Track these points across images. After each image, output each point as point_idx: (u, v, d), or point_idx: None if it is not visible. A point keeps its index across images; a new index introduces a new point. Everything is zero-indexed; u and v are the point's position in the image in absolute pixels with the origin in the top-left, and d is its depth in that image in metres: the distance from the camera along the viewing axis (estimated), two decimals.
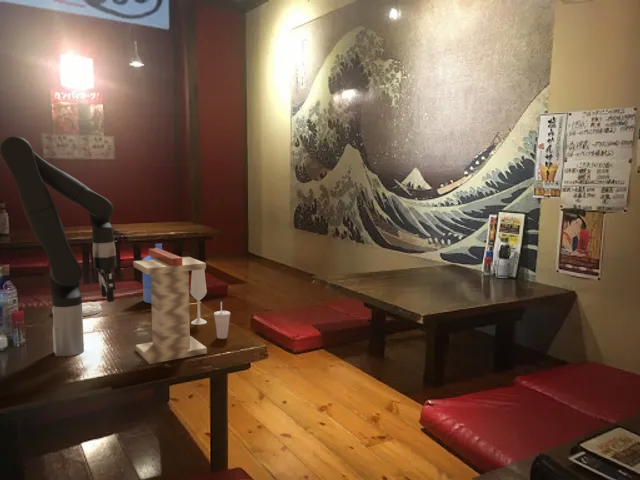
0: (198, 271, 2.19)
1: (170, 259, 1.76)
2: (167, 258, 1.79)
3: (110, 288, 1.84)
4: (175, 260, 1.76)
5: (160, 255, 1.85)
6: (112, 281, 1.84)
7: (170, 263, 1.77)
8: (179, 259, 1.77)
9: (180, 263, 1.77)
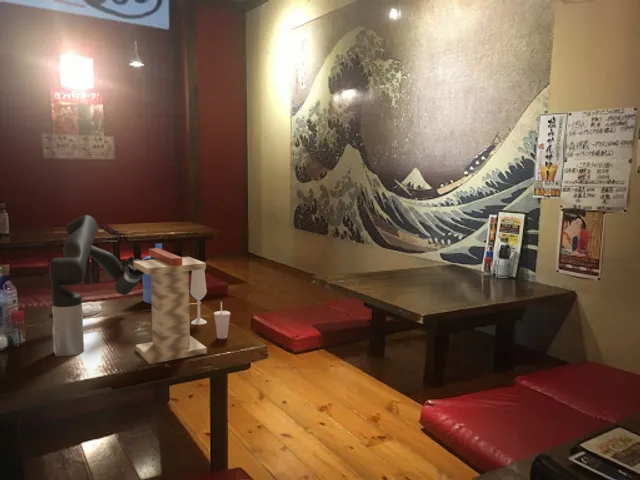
0: (198, 271, 2.19)
1: (170, 259, 1.76)
2: (167, 258, 1.79)
3: None
4: (175, 260, 1.76)
5: (160, 255, 1.85)
6: None
7: (170, 263, 1.77)
8: (179, 259, 1.77)
9: (180, 263, 1.77)
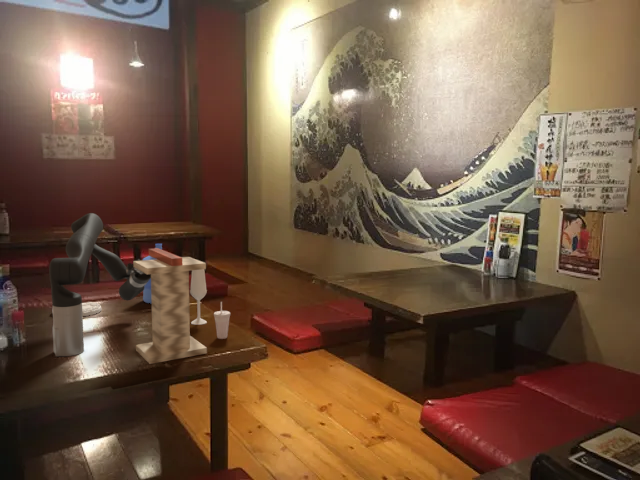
0: (198, 271, 2.19)
1: (170, 259, 1.76)
2: (167, 258, 1.79)
3: None
4: (175, 260, 1.76)
5: (160, 255, 1.85)
6: None
7: (170, 263, 1.77)
8: (179, 259, 1.77)
9: (180, 263, 1.77)
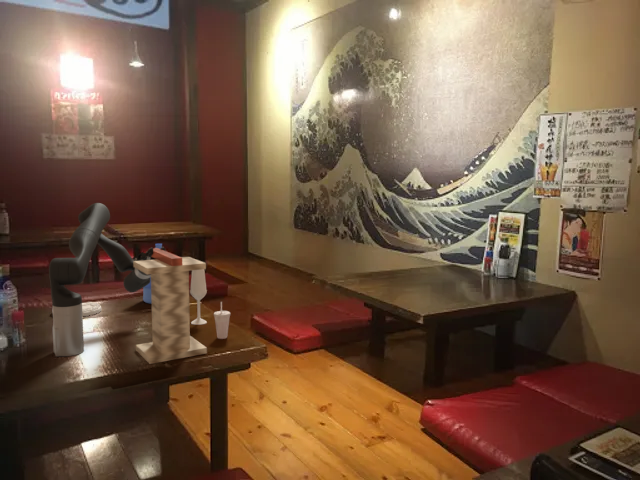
0: (198, 271, 2.19)
1: (170, 259, 1.76)
2: (167, 258, 1.79)
3: None
4: (175, 260, 1.76)
5: (160, 255, 1.85)
6: None
7: (170, 263, 1.77)
8: (179, 259, 1.76)
9: (180, 263, 1.77)
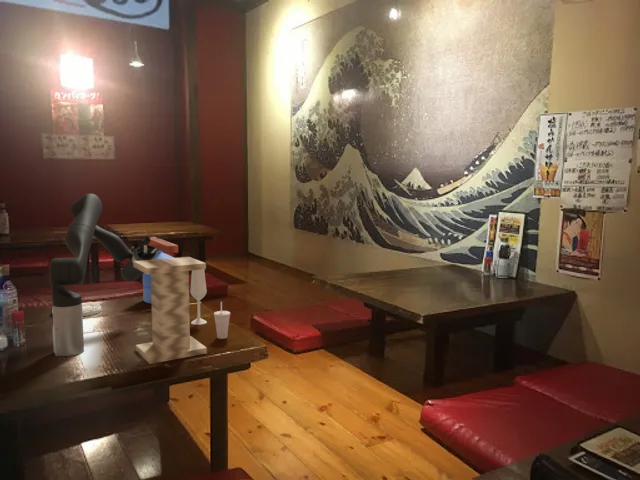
0: (198, 271, 2.19)
1: (166, 246, 1.79)
2: (163, 246, 1.81)
3: None
4: (170, 248, 1.78)
5: (156, 243, 1.88)
6: None
7: (166, 250, 1.79)
8: (175, 246, 1.79)
9: (176, 250, 1.79)
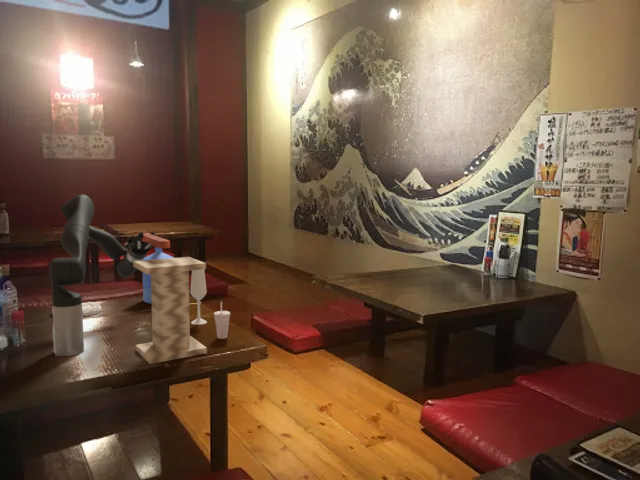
0: (198, 271, 2.19)
1: (158, 242, 1.86)
2: (155, 241, 1.88)
3: None
4: (162, 243, 1.85)
5: (149, 239, 1.95)
6: None
7: (158, 246, 1.86)
8: (167, 242, 1.86)
9: (168, 246, 1.86)
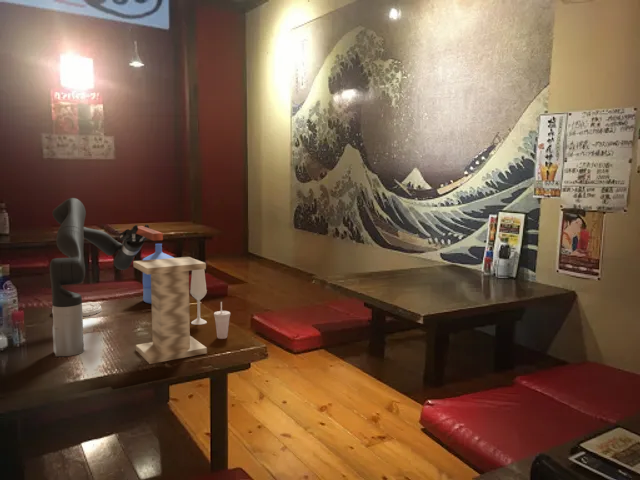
0: (198, 271, 2.19)
1: (151, 234, 1.92)
2: (149, 233, 1.94)
3: None
4: (155, 235, 1.91)
5: (143, 231, 2.01)
6: None
7: (151, 238, 1.92)
8: (160, 234, 1.92)
9: (161, 238, 1.92)
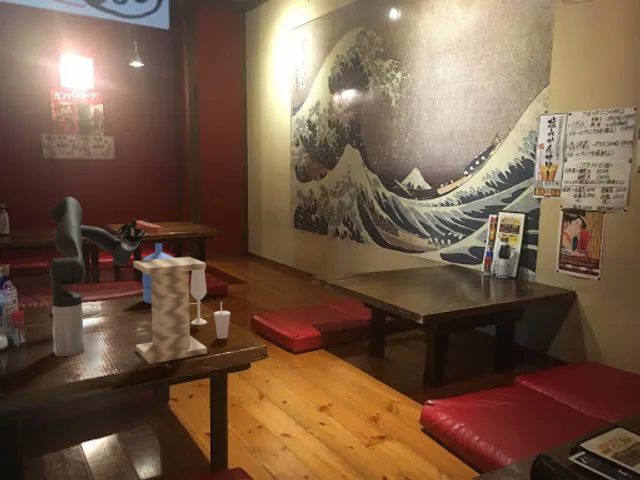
0: (198, 271, 2.19)
1: (150, 228, 1.93)
2: (148, 227, 1.95)
3: None
4: (154, 229, 1.92)
5: (142, 225, 2.01)
6: None
7: (150, 231, 1.93)
8: (159, 228, 1.93)
9: (160, 231, 1.93)
